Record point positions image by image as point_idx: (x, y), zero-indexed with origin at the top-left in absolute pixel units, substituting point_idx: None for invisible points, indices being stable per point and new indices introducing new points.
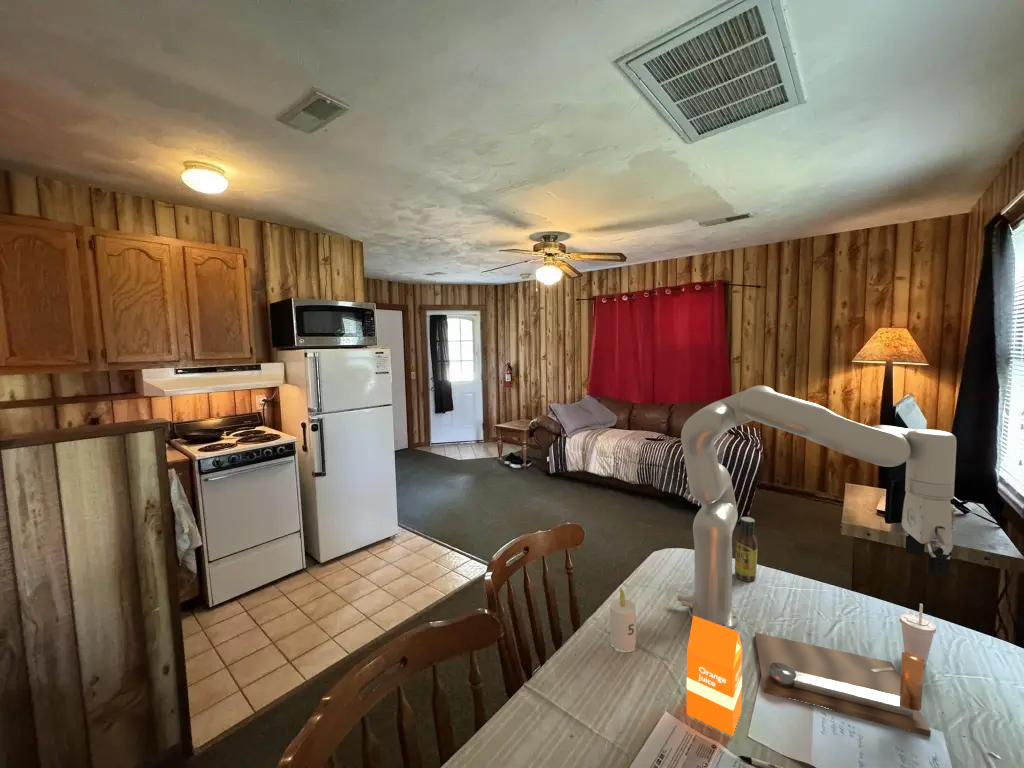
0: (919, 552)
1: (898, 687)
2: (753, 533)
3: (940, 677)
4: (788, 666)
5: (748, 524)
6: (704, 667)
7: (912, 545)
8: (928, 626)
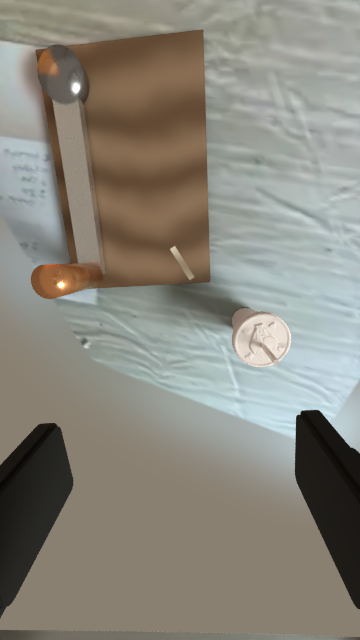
0: (301, 471)
1: (147, 274)
2: None
3: (213, 338)
4: (79, 86)
5: None
6: None
7: (324, 478)
8: (249, 354)
